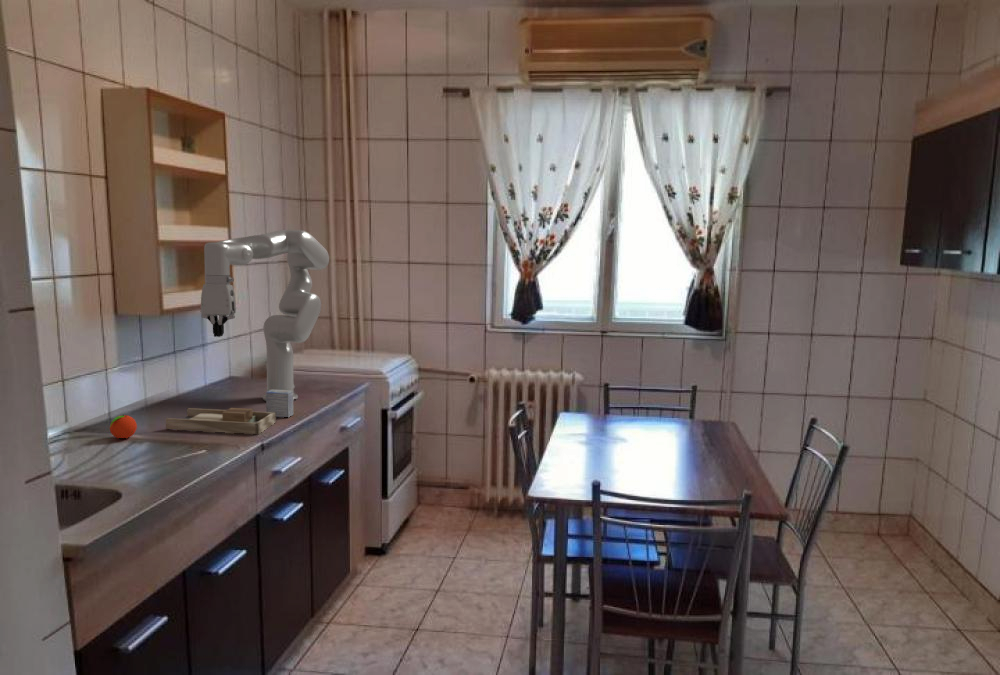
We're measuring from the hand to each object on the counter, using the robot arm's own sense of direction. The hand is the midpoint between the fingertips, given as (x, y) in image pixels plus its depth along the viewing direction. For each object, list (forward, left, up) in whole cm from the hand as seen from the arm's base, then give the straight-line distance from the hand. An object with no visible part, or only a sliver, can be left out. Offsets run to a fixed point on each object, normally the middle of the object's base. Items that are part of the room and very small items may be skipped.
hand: (218, 336), depth 222 cm
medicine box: (-4, +19, -27) cm, 34 cm away
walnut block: (+12, +12, -25) cm, 30 cm away
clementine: (+30, -15, -27) cm, 43 cm away
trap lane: (+12, +6, -27) cm, 30 cm away
